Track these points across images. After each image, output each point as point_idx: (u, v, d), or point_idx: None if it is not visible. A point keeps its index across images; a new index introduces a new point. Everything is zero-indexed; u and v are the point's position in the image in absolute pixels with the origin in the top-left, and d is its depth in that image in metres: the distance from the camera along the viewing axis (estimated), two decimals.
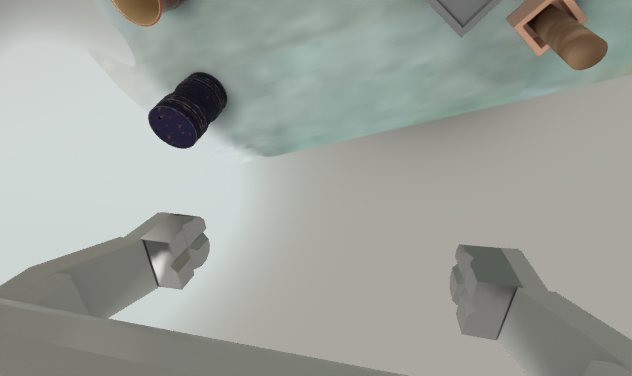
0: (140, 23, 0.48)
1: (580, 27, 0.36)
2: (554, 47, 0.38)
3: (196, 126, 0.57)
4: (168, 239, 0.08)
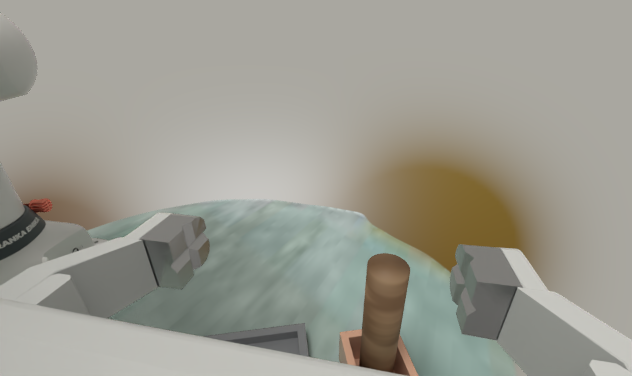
0: None
1: None
2: (381, 318, 0.26)
3: None
4: (168, 239, 0.08)
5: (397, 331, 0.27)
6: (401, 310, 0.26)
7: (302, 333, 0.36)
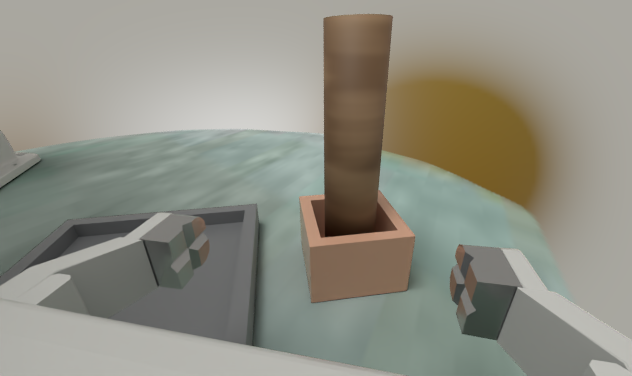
0: None
1: None
2: (347, 108, 0.16)
3: None
4: (168, 239, 0.08)
5: (375, 144, 0.17)
6: (380, 97, 0.16)
7: (251, 212, 0.26)
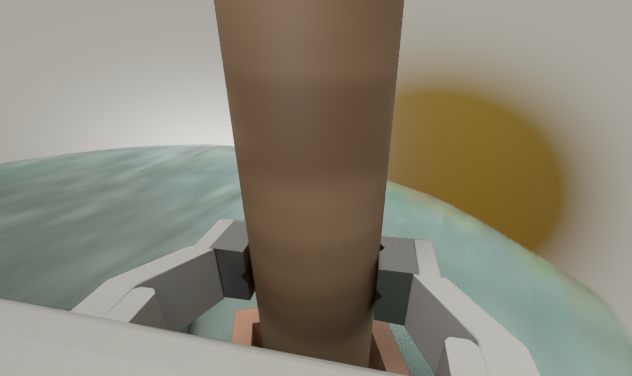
0: None
1: None
2: (283, 219, 0.06)
3: None
4: (241, 249, 0.08)
5: (362, 285, 0.07)
6: (372, 186, 0.06)
7: None
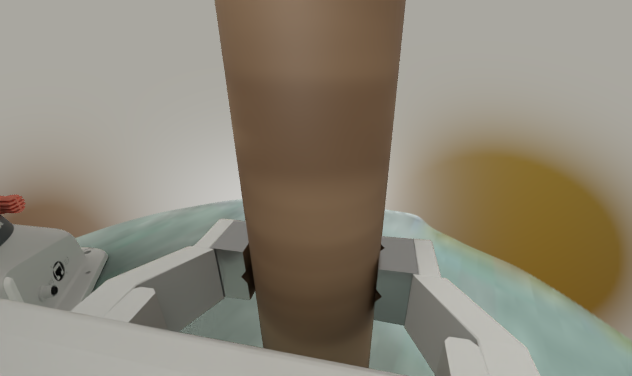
0: None
1: None
2: (284, 220, 0.06)
3: None
4: (241, 248, 0.08)
5: (363, 286, 0.07)
6: (373, 187, 0.06)
7: None
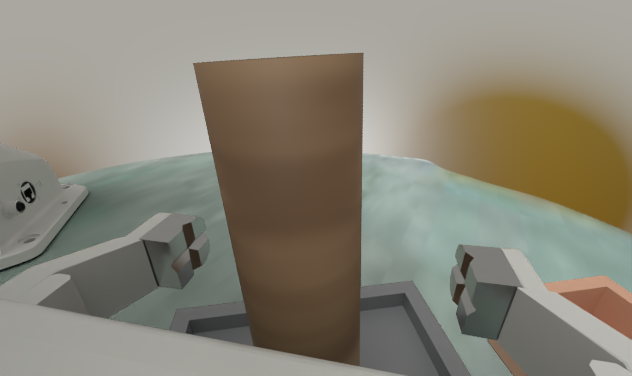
0: None
1: None
2: (266, 269, 0.07)
3: None
4: (168, 239, 0.08)
5: (343, 320, 0.08)
6: (344, 236, 0.07)
7: (416, 296, 0.19)
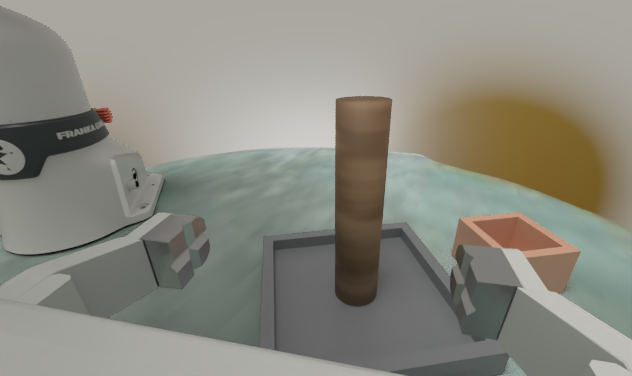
0: None
1: None
2: (355, 172, 0.19)
3: None
4: (168, 239, 0.08)
5: (379, 198, 0.20)
6: (382, 162, 0.19)
7: (408, 229, 0.32)
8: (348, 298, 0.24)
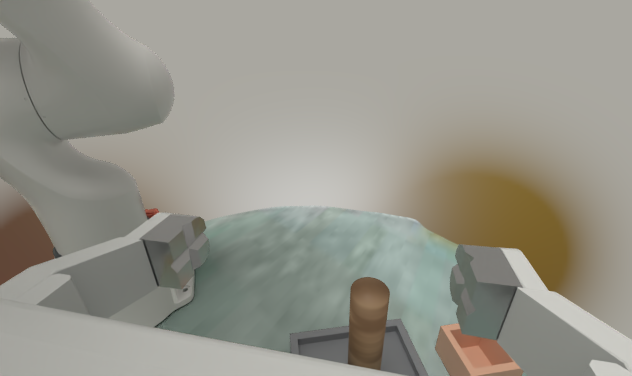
0: None
1: None
2: (364, 338, 0.28)
3: None
4: (168, 239, 0.08)
5: (380, 349, 0.29)
6: (382, 330, 0.28)
7: (401, 327, 0.41)
8: None
